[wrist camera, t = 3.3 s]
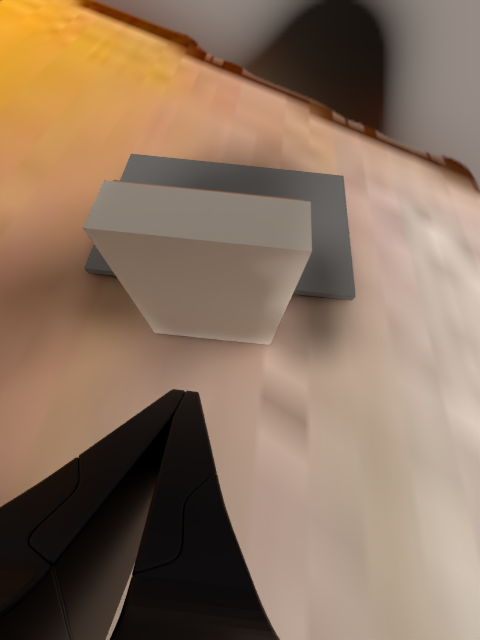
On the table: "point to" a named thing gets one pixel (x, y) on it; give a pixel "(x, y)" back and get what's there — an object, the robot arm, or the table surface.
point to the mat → (320, 189)
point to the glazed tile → (203, 256)
